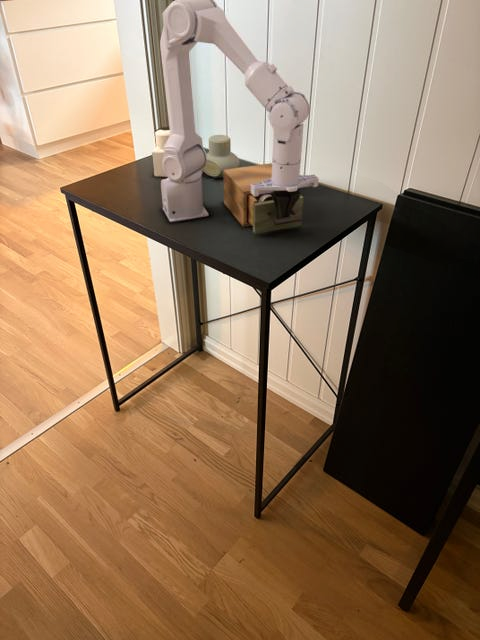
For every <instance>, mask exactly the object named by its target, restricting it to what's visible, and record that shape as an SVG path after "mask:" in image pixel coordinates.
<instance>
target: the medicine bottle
mask: <svg viewBox="0 0 480 640" xmlns="http://www.w3.org/2000/svg"><path fill="white" fill-rule="evenodd" d="M169 136H170V127H169V126H161V127H159V128H157V129H155V131H154V137H155V138H154V139H155V145H156V146H155V147H154V148H153V150H152V151H151V156H152V157H151V158H152V168H153V175H154V177H156V178H157V177H159V178H168V177H167V176H166V174H165V172H164V170H163V166H162V161H163V158H164V146H165V144H166V142H167V140H168V138H169Z"/></svg>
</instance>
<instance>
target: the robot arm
mask: <svg viewBox="0 0 480 640" xmlns="http://www.w3.org/2000/svg"><path fill="white" fill-rule="evenodd" d="M161 15H162V16H161V17H162V24H163V27H162V32H161V36H160V40H159V46H160V47H159V49H160V55H161V64H162V65H161V66H162V73H163V82H164V92H165V101H166V109H167V118H168V127H170V136H169V138H168V140H167V142H166V144H165V146H164V158H163V161H162V166H163V170H164V172H165V174H166V176H167V177H166V178H164V179H161V180H160V191H161V201H162V210H163V212H164V213H165V216H166V217H167V219H168V222H170V223H174V222H175V223H176V222H181V221H186V220H193V219H198V218H199V219H200V218H205V217H208V216H209V212H208V211H207V209H206V208H205V206H204V199H203V195H204V194H203V177H202V175H203V172H204V171H203V170H202V168H203V167H204V166H205V165H206V163H207V154H206V153H207V151H206V150H205V147H204V144H203V138H202V137H201V136H200V135H199V134H198V133H197V132H196V123H195V113H194V101H193V89H192V78H191V65H190V52H191V51H192V49H193V48H194V47H195V46H196V45H197V43H204V44H211V45H215V46H216V47H217V48H218V49H219V51H221V53H222V54H224V55H225V56H226V58H227V59H229V60H230V61H231V63H232V64H233V65H234V66H235V67H236V68H237V69H238V70H239V71H240V72H241V73H242V74H243V75H244V85H245V87H246V88H247V89H248V91H250V93H251V94H252V95H253V96H254V97H255V98H256V100H257V101H258V102H259V103H260V104H261V106H262V107H263V108H264V109H265V110H266V111H267V112H268V115H267V116H268V121H269V123H270V125H271V127H272V133H273V135H272V160H271V163H272V178H270V179H267V180H264V181H261V182H258V183H255V184H251V194H252V195H253V196H254V197H255V196H259V194H265V193H270V194H271V196H272V199H273V201H274V204H275V207H276V210H277V215H278V218H281V217H287V216H290V214H291V211H292V209H293V207H294V205H295V203H296V202H297V201H298V199H299V198H300V196H301V192H300V191H299V189H302V188H303V189H304V188H308V187H312V188H317V187H319V180H320V179H319V177H318V176H317V175H315V174H303V175H302V174H301V161H302V151H303V139H304V134H303V133H304V122H305V121H306V120H307V118H309V114H310V103H309V101H308V99H307V98H306V96H305V94H304V93H302V92H301V91H296V90H295V91H294V88H293V87H292V85H288V84H287V83H286V82H285V80H283V78H282V77H281V75H280V74H279V73H278V72H277V70H278V68H277V66H276V65H275V64H274V63H271V64H270V62H268V61H260V60H258V59H257V57H256V56H255V55H254V53H253V52H252V51H251V50H250V48H249V47H248V46H247V44H246V43H245V42H244V40H243V39H242V38H241V36H240V35H239V34H238V32H237V31H236V30H235V28H234V27H233V25H231V22H229V20H228V19H227V14H226V13H225V11H224V10H223V9H222V8H221V7H220V6H218V4H217V2H216V1H215V0H173V1H171V3H170V4H169V5H168V6H167V7H166V8H165V10H164V11H163V12H162V14H161Z"/></svg>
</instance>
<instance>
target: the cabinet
mask: <svg viewBox="0 0 480 640" xmlns="http://www.w3.org/2000/svg"><path fill="white" fill-rule="evenodd" d="M270 178H272V162H271V163H269V162H268V163H263V164H257V165H249V166H240V167H239V168H233V169H226V170H223V179H222V181H223V204H224V205H225V206H226V208H227V209H228V211H230V213H231V214H232V215H233V216H234V218H235V219H236V220H237V221H238V222H239V224H240V225H241V226H242V228H246V227H253V226H252V225H251V224H250V222H249V221H248V220H247V194H251V184H255V183H258V182H261V181H264V180H267V179H270Z"/></svg>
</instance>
